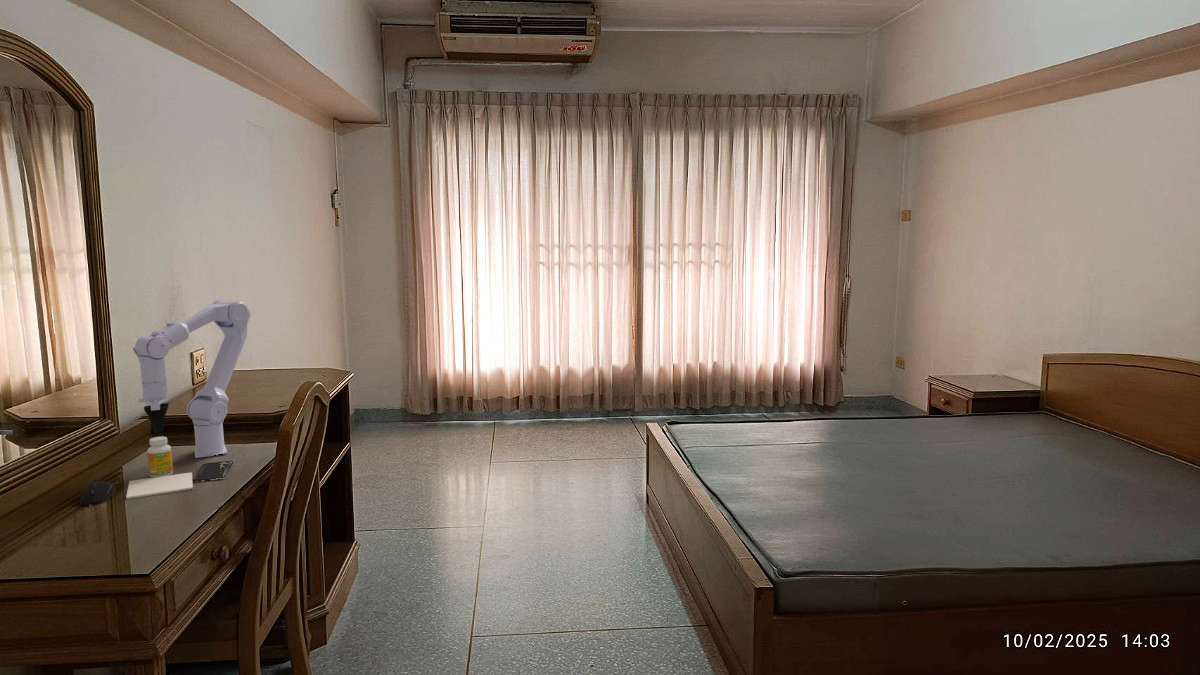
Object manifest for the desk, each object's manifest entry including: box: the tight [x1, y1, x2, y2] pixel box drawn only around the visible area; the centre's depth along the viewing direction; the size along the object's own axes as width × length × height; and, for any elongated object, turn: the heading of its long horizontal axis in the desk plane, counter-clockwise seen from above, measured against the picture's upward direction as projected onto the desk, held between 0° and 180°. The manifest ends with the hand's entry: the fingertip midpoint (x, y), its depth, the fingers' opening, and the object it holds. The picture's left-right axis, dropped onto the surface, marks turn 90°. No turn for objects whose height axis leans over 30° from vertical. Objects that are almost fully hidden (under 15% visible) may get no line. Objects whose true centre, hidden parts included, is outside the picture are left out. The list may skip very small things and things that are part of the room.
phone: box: [192, 460, 234, 483], centre depth 208 cm, size 8×1×15 cm
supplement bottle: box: [147, 436, 174, 478], centre depth 206 cm, size 5×5×10 cm
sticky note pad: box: [125, 471, 194, 500], centre depth 197 cm, size 14×14×1 cm
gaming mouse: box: [79, 480, 117, 507], centre depth 188 cm, size 6×15×4 cm, turn 19°
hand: (158, 431), depth 212 cm, fingers closed
